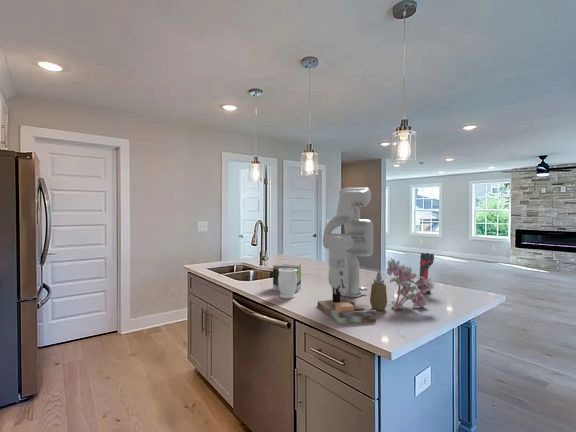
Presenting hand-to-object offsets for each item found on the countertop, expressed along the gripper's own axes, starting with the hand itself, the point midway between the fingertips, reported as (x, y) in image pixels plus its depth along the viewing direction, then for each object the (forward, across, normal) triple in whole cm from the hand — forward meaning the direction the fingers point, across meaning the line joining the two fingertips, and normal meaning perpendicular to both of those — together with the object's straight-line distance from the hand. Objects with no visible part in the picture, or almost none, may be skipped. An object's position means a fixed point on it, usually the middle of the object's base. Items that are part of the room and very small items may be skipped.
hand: (336, 302), depth 150 cm
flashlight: (+7, +23, -67) cm, 71 cm away
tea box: (+6, +47, +11) cm, 49 cm away
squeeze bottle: (+6, 0, -22) cm, 23 cm away
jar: (+6, +31, +15) cm, 35 cm away
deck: (+5, -2, -4) cm, 6 cm away
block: (+2, -10, 0) cm, 10 cm away
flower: (+6, -1, -39) cm, 39 cm away
